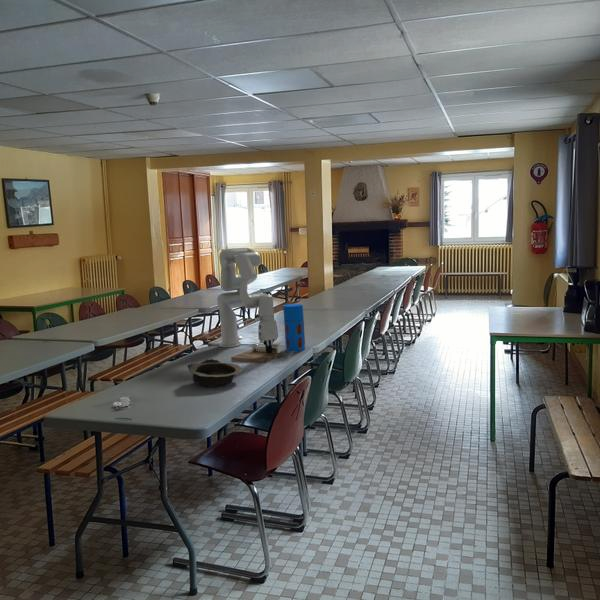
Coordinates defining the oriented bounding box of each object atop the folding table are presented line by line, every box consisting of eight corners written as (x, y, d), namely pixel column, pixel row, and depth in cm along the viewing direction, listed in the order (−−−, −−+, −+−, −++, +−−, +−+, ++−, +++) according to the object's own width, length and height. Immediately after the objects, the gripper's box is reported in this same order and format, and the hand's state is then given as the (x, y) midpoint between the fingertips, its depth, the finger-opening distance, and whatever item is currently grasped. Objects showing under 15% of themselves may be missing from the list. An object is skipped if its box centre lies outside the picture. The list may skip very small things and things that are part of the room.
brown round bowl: (182, 380, 275) (182, 360, 274) (234, 376, 284) (234, 357, 283) (192, 392, 252) (192, 371, 251) (249, 388, 261) (249, 367, 260)
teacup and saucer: (110, 408, 240) (109, 398, 239) (128, 403, 245) (127, 393, 245) (120, 412, 233) (119, 402, 233) (138, 407, 239) (138, 397, 238)
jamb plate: (253, 352, 327) (253, 349, 327) (283, 355, 317) (283, 351, 317) (231, 360, 310) (231, 357, 310) (263, 363, 300) (262, 359, 300)
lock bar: (251, 351, 321) (251, 344, 320) (255, 349, 324) (255, 343, 323) (277, 353, 311) (276, 346, 310) (281, 352, 314) (280, 345, 313)
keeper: (271, 350, 321) (271, 343, 320) (279, 351, 318) (279, 343, 318) (269, 351, 319) (269, 344, 318) (277, 351, 316) (277, 344, 316)
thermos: (306, 347, 334) (303, 303, 331) (304, 351, 324) (301, 306, 321) (287, 347, 336) (284, 304, 332) (284, 351, 325) (282, 306, 322)
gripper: (259, 321, 302) (261, 356, 304) (282, 317, 311) (284, 351, 314) (251, 319, 308) (253, 354, 310) (274, 315, 317) (276, 349, 319)
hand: (269, 352), depth 312 cm, fingers closed
